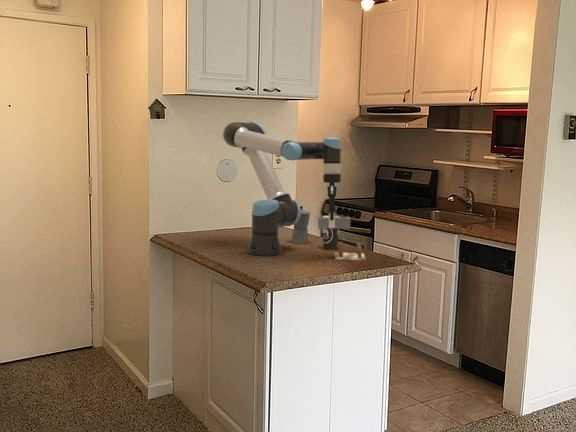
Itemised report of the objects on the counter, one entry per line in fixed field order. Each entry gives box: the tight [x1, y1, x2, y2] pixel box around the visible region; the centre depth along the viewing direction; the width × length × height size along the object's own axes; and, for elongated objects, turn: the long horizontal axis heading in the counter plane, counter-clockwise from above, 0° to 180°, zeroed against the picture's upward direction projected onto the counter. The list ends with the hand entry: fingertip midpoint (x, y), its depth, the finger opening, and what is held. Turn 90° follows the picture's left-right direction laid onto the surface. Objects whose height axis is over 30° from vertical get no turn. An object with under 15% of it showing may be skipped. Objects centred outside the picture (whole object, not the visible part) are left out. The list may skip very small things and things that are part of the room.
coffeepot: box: [291, 205, 311, 245], centre depth 307 cm, size 15×9×18 cm, turn 25°
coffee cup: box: [322, 215, 341, 250], centre depth 292 cm, size 10×10×15 cm
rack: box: [333, 241, 366, 262], centre depth 273 cm, size 13×11×6 cm
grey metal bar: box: [318, 216, 351, 230], centre depth 271 cm, size 14×5×4 cm, turn 86°
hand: (331, 226), depth 271 cm, fingers closed on grey metal bar, 4 cm apart
